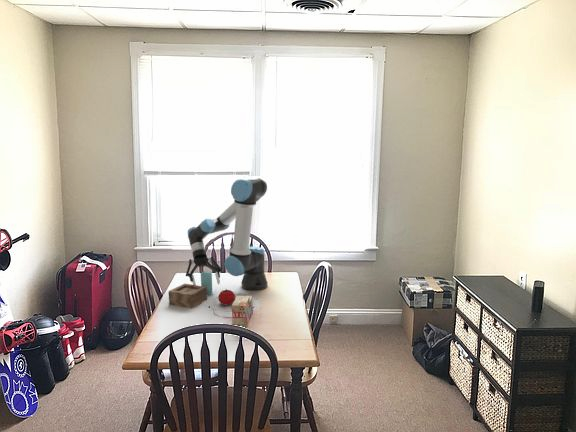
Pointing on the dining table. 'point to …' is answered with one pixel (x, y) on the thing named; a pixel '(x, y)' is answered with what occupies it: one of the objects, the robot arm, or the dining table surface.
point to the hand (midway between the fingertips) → (207, 284)
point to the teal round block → (207, 281)
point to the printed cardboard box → (242, 311)
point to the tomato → (226, 297)
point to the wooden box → (187, 295)
